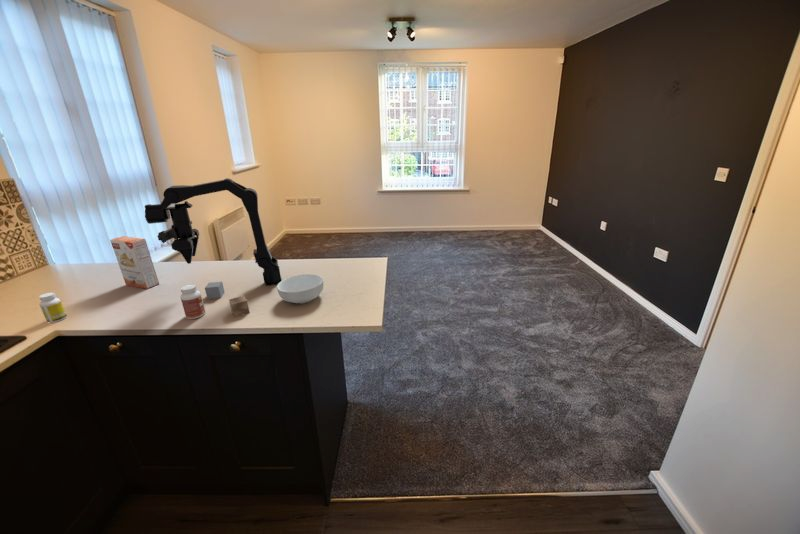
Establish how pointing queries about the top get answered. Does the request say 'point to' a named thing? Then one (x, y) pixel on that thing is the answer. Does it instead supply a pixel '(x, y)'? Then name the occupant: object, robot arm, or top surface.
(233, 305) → the walnut cube
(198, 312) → the pill bottle
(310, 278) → the cereal bowl
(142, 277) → the cracker box
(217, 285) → the slate-grey cube
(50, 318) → the supplement bottle
